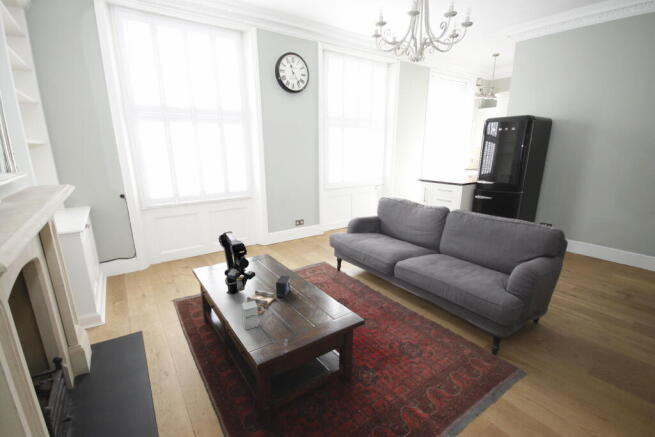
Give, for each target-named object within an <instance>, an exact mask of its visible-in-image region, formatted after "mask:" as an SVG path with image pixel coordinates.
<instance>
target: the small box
mask: <svg viewBox="0 0 655 437" xmlns="http://www.w3.org/2000/svg"><path fill="white" fill-rule="evenodd" d="M290 278H291V277H290V276H289V275H280V277H279V278H278V279H277V280H276V282H275V289H276V290H275V293H276V294H275V296H276V298H277V297H279V298H286V297H287V296H288V294H289V293H290V291H291V279H290Z"/></svg>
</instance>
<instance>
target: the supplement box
mask: <svg viewBox="0 0 655 437" xmlns="http://www.w3.org/2000/svg"><path fill="white" fill-rule="evenodd" d="M241 311H242V320H243V321H242V323H243V327H244V329H245V331H246V330H249V329H254V328H258V327H259V315H258V308H257V304H256V302H255V301H251V302H247V301H246V302H243V303H241Z"/></svg>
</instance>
